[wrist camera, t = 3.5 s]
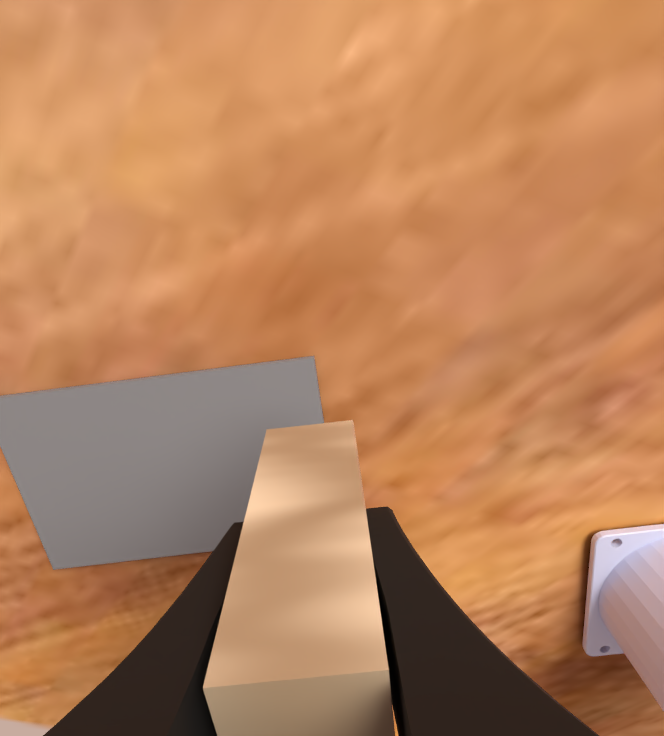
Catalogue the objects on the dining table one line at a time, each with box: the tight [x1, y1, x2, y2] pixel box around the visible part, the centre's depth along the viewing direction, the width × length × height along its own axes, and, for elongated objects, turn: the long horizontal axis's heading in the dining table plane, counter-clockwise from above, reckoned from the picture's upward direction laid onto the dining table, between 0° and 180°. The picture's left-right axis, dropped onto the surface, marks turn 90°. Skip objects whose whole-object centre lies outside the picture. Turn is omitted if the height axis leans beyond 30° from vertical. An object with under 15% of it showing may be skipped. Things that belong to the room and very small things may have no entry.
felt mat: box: [0, 356, 324, 570], centre depth 20 cm, size 14×9×1 cm, turn 97°
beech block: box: [203, 420, 395, 736], centre depth 10 cm, size 2×4×7 cm, turn 6°
